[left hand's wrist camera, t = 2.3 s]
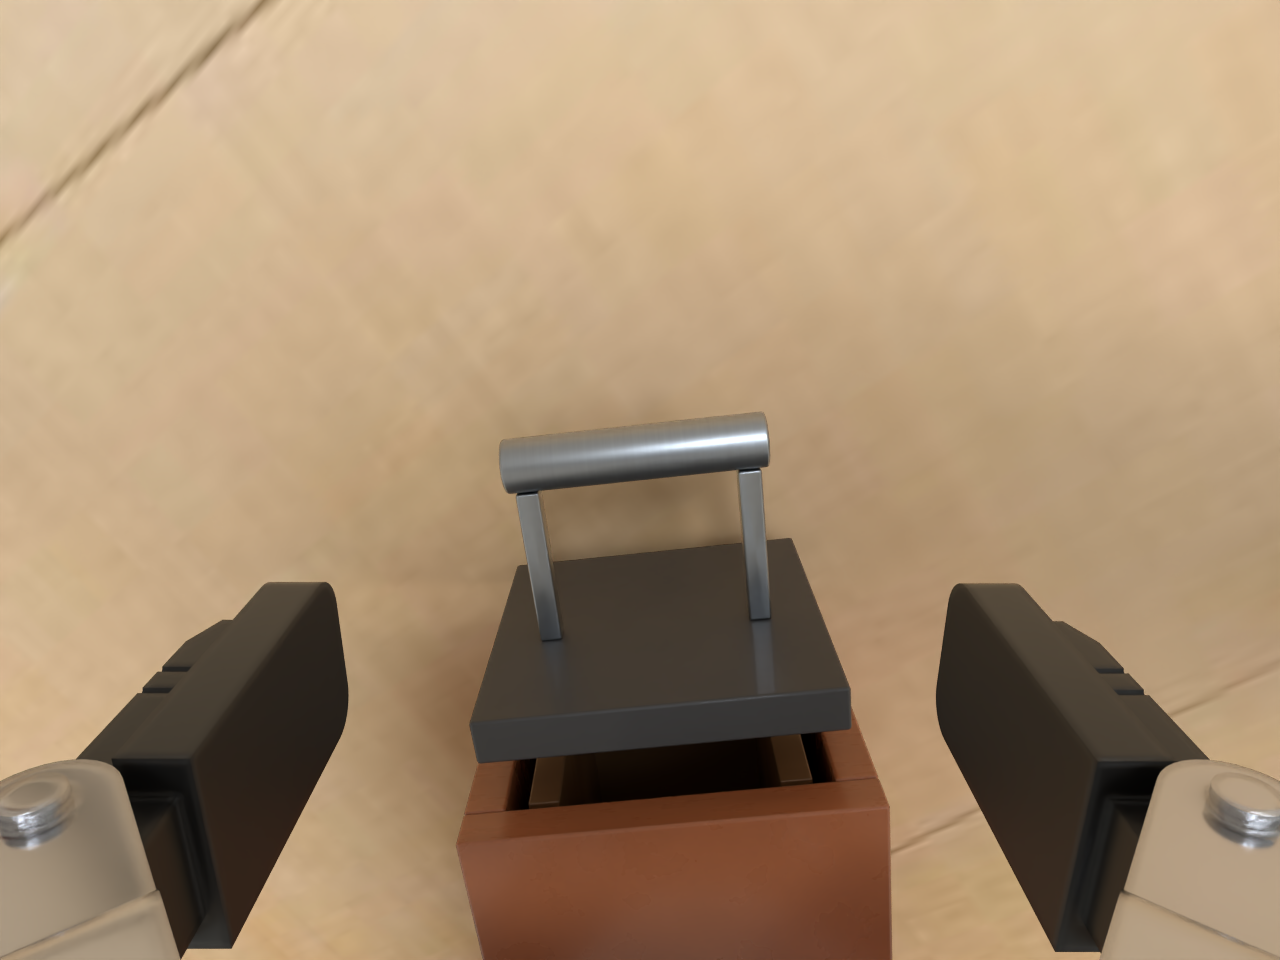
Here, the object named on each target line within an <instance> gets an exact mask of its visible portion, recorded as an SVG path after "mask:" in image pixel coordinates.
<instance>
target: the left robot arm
mask: <svg viewBox="0 0 1280 960" xmlns="http://www.w3.org/2000/svg"><path fill="white" fill-rule="evenodd" d="M936 707H937V716H938V721H939V726H940V729H941V732H942V735H943V737H944V740H945V742H946V743H947V745H948V747H949V749H950V751H951V753H952V755H953V757H954V759H955V761H956V763H957V765H958V766H959V768H960V770H961V772H962V774H963V776H964V778H965V780H966V782H967V784H968V786H969V788H970V789H971V791H972V793H973V795H974V797H975V799H976V801H977V803H978V805H979V807H980V809H981V811H982V812H983V814H984V816H985V818H986V820H987V822H988V824H989V826H990V828H991V830H992V832H993V834H994V835H995V837H996V839H997V841H998V843H999V845H1000V847H1001V849H1002V851H1003V853H1004V855H1005V857H1006V858H1007V860H1008V862H1009V864H1010V866H1011V868H1012V870H1013V872H1014V874H1015V876H1016V878H1017V880H1018V881H1019V883H1020V885H1021V887H1022V889H1023V891H1024V893H1025V895H1026V897H1027V899H1028V901H1029V903H1030V904H1031V906H1032V908H1033V910H1034V912H1035V914H1036V916H1037V918H1038V920H1039V922H1040V924H1041V926H1042V927H1043V929H1044V931H1045V933H1046V935H1047V937H1048V939H1049V941H1050V943H1051V945H1052V947H1053V949H1054V950H1055V952H1101V956H1100V960H1280V781H1278V780H1276V779H1274V778H1272V777H1270V776H1267V775H1265V774H1263V773H1260V772H1257V771H1255V770H1252V769H1249V768H1246V767H1242V766H1239V765H1235V764H1231V763H1226V762H1221V761H1214V760H1210V759H1209V758H1208V757H1207V756H1206V755H1205V754H1204V753H1203V752H1202V751H1201V750H1200V749H1199V748H1198V747H1197V746H1196V745H1195V744H1194V743H1193V741H1192V740H1191V739H1190V738H1189V737H1188V736H1187V735H1186V734H1185V733H1184V732H1183V731H1182V730H1181V729H1180V728H1179V727H1178V726H1177V725H1176V723H1175V722H1174V721H1173V720H1172V719H1171V718H1170V717H1169V716H1168V715H1167V714H1166V713H1165V712H1164V711H1163V710H1162V709H1161V708H1160V706H1159V705H1158V704H1157V703H1156V702H1155V701H1154V700H1153V699H1152V698H1151V697H1150V696H1149V695H1144V690H1143V688H1142V687H1141V686H1140V685H1139V684H1138V683H1137V682H1136V681H1135V680H1134V679H1133V678H1132V677H1131V676H1130V675H1129V674H1124V668H1123V667H1122V666H1121V665H1120V664H1119V663H1118V662H1117V661H1116V660H1115V659H1114V658H1113V657H1112V656H1111V655H1110V654H1109V652H1108V651H1107V650H1106V649H1105V648H1104V647H1103V646H1102V645H1101V644H1100V643H1099V642H1097V641H1095V640H1094V639H1092V638H1090V637H1088V636H1087V635H1085V634H1083V633H1082V632H1080V631H1078V630H1076V629H1075V628H1073V627H1071V626H1070V625H1068V624H1066V623H1065V622H1063V621H1052V620H1051V619H1050V618H1049V617H1048V616H1047V614H1046V613H1045V612H1044V611H1043V610H1042V609H1041V608H1040V606H1039V605H1038V604H1037V603H1036V602H1035V601H1034V600H1033V599H1032V597H1031V596H1030V595H1029V594H1028V593H1027V592H1026V591H1025V590H1024V588H1023V587H1021V586H1020V585H1018V584H957V585H956V586H954V588H953V589H952V592H951V594H950V598H949V602H948V609H947V616H946V623H945V630H944V637H943V644H942V651H941V659H940V666H939V673H938V680H937V688H936ZM347 710H348V682H347V675H346V668H345V661H344V653H343V646H342V639H341V632H340V624H339V617H338V610H337V603H336V597H335V594H334V591H333V589H332V587H331V585H330V584H329V583H326V582H268V583H266V584H264V585H263V586H262V587H261V588H260V590H259V591H258V592H257V593H256V594H255V595H254V596H253V598H252V599H251V600H250V601H249V602H248V603H247V604H246V606H245V607H244V608H243V609H242V610H241V611H240V612H239V613H238V615H237V616H236V617H235V618H234V619H233V620H222V621H220V622H218V623H217V624H215V625H213V626H211V627H210V628H208V629H206V630H205V631H203V632H201V633H200V634H198V635H196V636H194V637H193V638H191V639H189V640H188V641H186V642H185V643H184V644H183V645H182V646H181V647H180V648H179V649H178V651H177V652H176V653H175V654H174V655H173V656H172V657H171V658H170V659H169V660H168V661H167V662H166V663H165V664H164V666H163V667H162V672H157V673H156V674H155V675H154V676H153V677H152V678H151V679H150V680H149V682H148V683H147V684H146V685H145V686H144V687H143V692H142V693H137V694H136V695H135V697H134V698H133V699H132V700H131V701H130V702H129V703H128V704H127V705H126V706H125V707H124V708H123V709H122V710H121V711H120V713H119V714H118V715H117V716H116V717H115V718H114V719H113V720H112V721H111V722H110V723H109V724H108V725H107V726H106V728H105V729H104V730H103V731H102V732H101V733H100V734H99V735H98V736H97V737H96V738H95V739H94V740H93V741H92V742H91V744H90V745H89V746H88V747H87V748H86V749H85V750H84V751H83V752H82V753H81V754H80V755H79V756H78V757H77V759H76V760H66V761H59V762H54V763H49V764H45V765H41V766H38V767H34V768H31V769H28V770H25V771H23V772H20V773H17V774H15V775H13V776H10V777H8V778H6V779H4V780H2V781H0V960H181V958H182V957H183V955H184V953H185V951H186V950H187V949H232V947H233V945H234V943H235V941H236V939H237V937H238V935H239V933H240V931H241V929H242V927H243V925H244V923H245V921H246V919H247V918H248V916H249V914H250V912H251V910H252V908H253V906H254V904H255V902H256V900H257V898H258V896H259V894H260V892H261V890H262V888H263V886H264V885H265V883H266V881H267V879H268V877H269V875H270V873H271V871H272V869H273V867H274V865H275V863H276V861H277V859H278V857H279V855H280V853H281V852H282V850H283V848H284V846H285V844H286V842H287V840H288V838H289V836H290V834H291V832H292V830H293V828H294V826H295V824H296V822H297V821H298V819H299V817H300V815H301V813H302V811H303V809H304V807H305V805H306V803H307V801H308V799H309V797H310V795H311V793H312V791H313V789H314V788H315V786H316V784H317V782H318V780H319V778H320V776H321V774H322V772H323V770H324V768H325V766H326V764H327V762H328V760H329V758H330V756H331V755H332V753H333V751H334V749H335V747H336V745H337V743H338V741H339V739H340V737H341V735H342V732H343V729H344V726H345V722H346V717H347Z"/></svg>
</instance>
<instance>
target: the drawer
mask: <svg viewBox="0 0 1280 960" xmlns="http://www.w3.org/2000/svg"><path fill="white" fill-rule="evenodd" d="M769 463H770V442H769V433H768V426H767V421H766V417H765V414H764V413H763V412H754V413H745V414H735V415H726V416H717V417H708V418H698V419H689V420H680V421H671V422H661V423H652V424H643V425H633V426H624V427H615V428H606V429H596V430H587V431H578V432H569V433H559V434H550V435H541V436H531V437H522V438H513V439H504V440H502V441H501V443H500V447H499V466H500V474H501V479H502V483H503V486H504V489H505V491H506V492H507V493H508V494H514V493H517V495H516V501H517V507H518V512H519V518H520V524H521V530H522V535H523V541H524V547H525V552H526V558H527V564H528V565H520V566H518V567H517V571H516V574H515V577H514V580H513V584H512V587H511V590H510V593H509V597H508V600H507V603H506V606H505V610H504V613H503V616H502V619H501V623H500V626H499V629H498V632H497V636H496V639H495V642H494V646H493V649H492V652H491V655H490V659H489V662H488V665H487V668H486V672H485V675H484V678H483V681H482V685H481V688H480V691H479V694H478V698H477V701H476V704H475V707H474V711H473V714H472V717H471V720H470V724H469V725H470V730H471V735H472V739H473V744H474V749H475V753H476V758H477V761H478V763H480V764H481V763H492V762H503V761H514V760H525V759H536V758H537V759H536V765H535V771H534V776H533V782H532V787H531V793H530V799H529V804H528V805H529V809H536V808H547V807H559V806H570V805H581V804H592V803H603V802H614V801H625V800H637V799H648V798H659V797H670V796H681V795H692V794H704V793H715V792H726V791H737V790H748V789H759V788H770V787H782V786H793V785H804V784H813V780H812V776H811V772H810V768H809V765H808V761H807V757H806V754H805V750H804V746H803V743H802V739H801V735H800V734H807V733H818V732H829V731H839V730H849V729H851V726H852V719H851V689H850V686H849V684H848V681H847V679H846V676H845V674H844V671H843V668H842V666H841V663H840V661H839V658H838V656H837V653H836V651H835V648H834V645H833V643H832V640H831V638H830V635H829V633H828V630H827V628H826V625H825V622H824V620H823V617H822V615H821V612H820V610H819V607H818V605H817V602H816V600H815V597H814V594H813V592H812V589H811V587H810V584H809V582H808V579H807V577H806V574H805V571H804V569H803V566H802V564H801V561H800V559H799V556H798V554H797V551H796V548H795V546H794V543H793V541H792V539H791V538H786V539H776V540H766V528H765V513H764V498H763V484H762V471H761V467H767V466H769ZM732 470H736V472H737V485H738V497H739V510H740V523H741V535H742V543H736V544H727V545H717V546H707V547H697V548H687V549H677V550H668V551H658V552H648V553H638V554H628V555H618V556H609V557H599V558H589V559H579V560H569V561H559V562H553V558H552V552H551V546H550V540H549V534H548V528H547V521H546V515H545V509H544V503H543V497H542V490H552V489H561V488H571V487H580V486H590V485H599V484H609V483H618V482H628V481H637V480H647V479H656V478H666V477H675V476H685V475H694V474H704V473H713V472H723V471H732Z"/></svg>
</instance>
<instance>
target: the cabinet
mask: <svg viewBox="0 0 1280 960" xmlns="http://www.w3.org/2000/svg"><path fill="white" fill-rule="evenodd" d="M851 719H852V726H851V729H849V730H839V731H829V732H818V733H807V734H800V735H801V739H802V743H803V746H804V750H805V754H806V757H807V761H808V765H809V768H810V772H811V776H812V780H813V784H804V785H793V786H782V787H770V788H759V789H748V790H737V791H726V792H715V793H704V794H692V795H681V796H670V797H659V798H648V799H637V800H625V801H614V802H603V803H592V804H581V805H570V806H559V807H547V808H536V809H529V805H528V804H529V799H530V793H531V787H532V782H533V776H534V771H535V765H536V759H537V758H536V759H525V760H514V761H503V762H492V763H481V764H480V763H478V766H477V769H476V773H475V777H474V780H473V784H472V788H471V791H470V795H469V799H468V802H467V806H466V810H465V813H464V814H465V816H464V818H463V821H462V825H461V829H460V832H459V836H458V840H457V843H456V847H457V852H458V856H459V860H460V864H461V869H462V873H463V877H464V881H465V886H466V890H467V894H468V898H469V903H470V907H471V911H472V915H473V920H474V924H475V928H476V932H477V936H478V941H479V945H480V949H481V953H482V958H483V960H892V914H891V854H890V806H889V804H888V801H887V799H886V796H885V793H884V791H883V788H882V785H881V783H880V781H879V779H878V775H877V773H876V770H875V767H874V765H873V762H872V760H871V757H870V754H869V752H868V749H867V746H866V744H865V741H864V739H863V736H862V733H861V731H860V728H859V725H858V723H857V720H856V718H855V715H854V712H853V710H852V707H851Z"/></svg>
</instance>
